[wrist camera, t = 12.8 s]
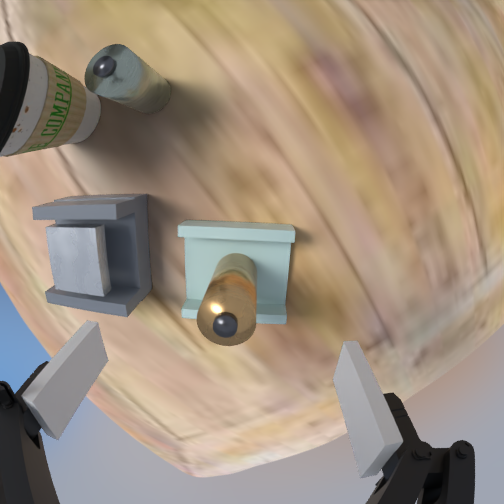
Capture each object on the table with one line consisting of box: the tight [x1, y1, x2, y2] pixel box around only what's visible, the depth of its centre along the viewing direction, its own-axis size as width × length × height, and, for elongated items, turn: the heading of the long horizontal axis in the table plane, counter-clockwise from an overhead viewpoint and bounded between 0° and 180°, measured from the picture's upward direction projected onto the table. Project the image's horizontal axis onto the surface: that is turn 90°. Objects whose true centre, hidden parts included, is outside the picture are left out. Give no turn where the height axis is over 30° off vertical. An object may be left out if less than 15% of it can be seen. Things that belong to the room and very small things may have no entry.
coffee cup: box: [0, 42, 101, 157], centre depth 16 cm, size 10×10×15 cm
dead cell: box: [85, 44, 171, 114], centre depth 18 cm, size 4×4×10 cm
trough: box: [178, 220, 295, 324], centre depth 26 cm, size 9×10×3 cm
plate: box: [46, 224, 112, 297], centre depth 21 cm, size 6×6×2 cm
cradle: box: [32, 194, 152, 317], centre depth 24 cm, size 10×10×6 cm
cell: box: [197, 253, 257, 346], centre depth 22 cm, size 4×4×10 cm
